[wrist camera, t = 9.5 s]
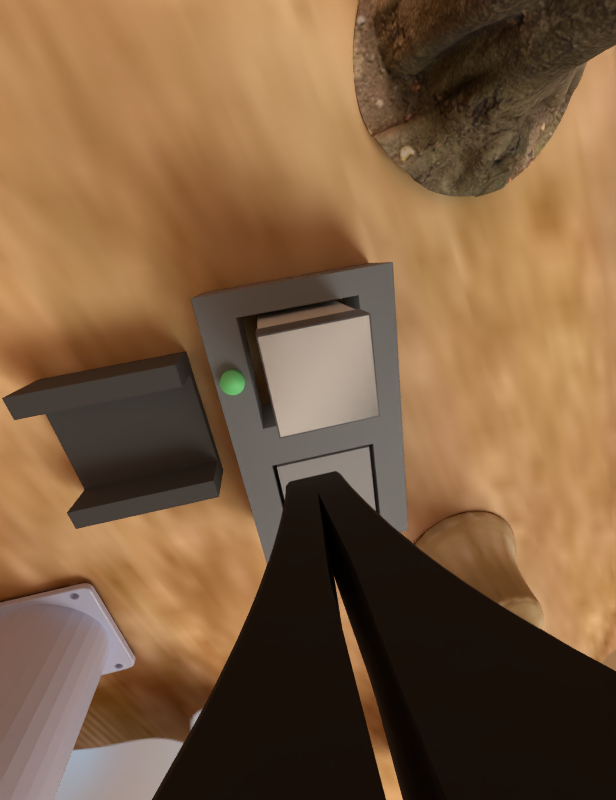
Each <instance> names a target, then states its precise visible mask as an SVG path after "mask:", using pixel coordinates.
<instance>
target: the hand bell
mask: <svg viewBox="0 0 616 800" xmlns="http://www.w3.org/2000/svg"><path fill="white" fill-rule="evenodd" d="M415 545H416V546H417V547H418V548H419V549H421V550H422V551H423V552H424V553H426V554H427V555H428V556H430V557H431V558H432V559H434V560H435V561H436V562H438V563H439V564H440V565H442V566H443V567H444V568H446V569H447V570H449V571H450V572H452V573H453V574H454V575H456V576H457V577H459V578H460V579H462V580H463V581H464V582H466V583H467V584H469V585H470V586H472V587H473V588H475V589H476V590H478V591H479V592H481V593H483V594H484V595H486V596H487V597H489V598H490V599H492V600H493V601H495V602H496V603H498V604H499V605H501V606H503V607H504V608H506V609H508V610H509V611H511V612H513V613H514V614H516V615H518V616H519V617H521V618H523V619H525V620H526V621H528V622H530V623H531V624H533V625H535V626H536V627H538V628H540V629H541V627H542V625H543V622H544V612H543V609H542V606H541V605H540V603H539V602H538V600H537V599H536V597H535V596H534V594H533V593H532V592H531V590H530V589H529V587H528V585H527V584H526V582H525V581H524V579H523V577H522V575H521V573H520V571H519V569H518V567H517V564H516V561H515V556H516V540H515V536H514V533H513V531H512V529H511V527H510V525H509V524H508V523H507V522H506V521H505V520H503V519H502V518H501V517H499V516H497V515H494V514H492V513H487V512H483V511H475V512H465V513H461V514H457V515H454V516H451V517H449V518H446V519H444V520H442V521H441V522H438V523H437V524H436V525H434V526H433V527H431V528H430V529H429V530H428V531H427V532H425V533H424V534H423V535H422V537H421V538H420V539H419V540H418V541H417V543H416V544H415Z"/></svg>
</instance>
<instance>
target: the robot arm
mask: <svg viewBox="0 0 616 800" xmlns="http://www.w3.org/2000/svg"><path fill="white" fill-rule="evenodd" d="M334 577H335V579H334ZM335 580H336V583H337V586H338V589H339V592H340V595H341V597H342V600H343V603H344V606H345V609H346V612H347V615H348V618H349V620H350V623H351V626H352V629H353V632H354V635H355V638H356V640H357V643H358V646H359V649H360V652H361V655H362V658H363V661H364V663H365V666H366V669H367V672H368V675H369V678H370V681H371V685H372V688H373V691H374V694H375V697H376V701H377V705H378V708H379V712H380V716H381V719H382V723H383V727H384V731H385V734H386V738H387V742H388V745H389V749H390V753H391V756H392V760H393V764H394V768H395V771H396V775H397V779H398V783H399V786H400V790H401V794H402V798H403V800H616V671H614V670H613V669H611V668H609V667H607V666H605V665H603V664H601V663H600V662H598V661H596V660H594V659H592V658H590V657H588V656H587V655H585V654H583V653H581V652H579V651H577V650H576V649H574V648H572V647H570V646H569V645H567V644H565V643H564V642H562V641H560V640H558V639H557V638H555V637H553V636H552V635H550V634H548V633H547V632H545V631H543V630H541V629H540V628H538V627H536V626H535V625H533V624H531V623H530V622H528V621H526V620H525V619H523V618H521V617H519V616H518V615H516V614H514V613H513V612H511V611H509V610H508V609H506V608H504V607H503V606H501V605H499V604H498V603H496V602H495V601H493V600H492V599H490V598H489V597H487V596H486V595H484V594H483V593H481V592H479V591H478V590H476V589H475V588H473V587H472V586H470V585H469V584H467V583H466V582H464V581H463V580H462V579H460V578H459V577H457V576H456V575H454V574H453V573H452V572H450V571H449V570H447V569H446V568H444V567H443V566H442V565H440V564H439V563H438V562H436V561H435V560H434V559H432V558H431V557H430V556H428V555H427V554H426V553H424V552H423V551H422V550H421V549H419V548H418V547H417V546H416V545H414V544H413V543H412V542H411V541H409V540H408V539H407V538H406V537H405V536H403V535H402V534H401V533H400V532H399V531H397V530H396V529H395V528H394V527H393V526H392V525H390V524H389V523H388V522H387V521H386V520H385V519H384V518H383V517H382V516H381V515H380V514H378V513H377V512H376V511H375V510H374V509H373V508H372V507H371V506H370V505H369V504H368V503H367V502H366V501H365V500H364V499H363V498H362V497H361V496H360V495H359V494H358V493H357V492H356V491H355V490H354V489H353V488H352V487H351V486H350V484H349V483H348V482H347V481H346V480H345V479H344V477H343V476H342V475H341V474H340V473H339V472H337V471H333V472H329V473H324V474H320V475H316V476H311V477H307V478H303V479H298V480H294V481H290V482H289V483H288V484H287V485H286V493H285V501H284V506H283V511H282V516H281V520H280V524H279V528H278V531H277V535H276V539H275V542H274V546H273V549H272V552H271V555H270V558H269V561H268V564H267V567H266V570H265V572H264V575H263V578H262V581H261V584H260V587H259V589H258V592H257V594H256V597H255V599H254V602H253V604H252V607H251V609H250V612H249V614H248V616H247V619H246V621H245V623H244V625H243V628H242V630H241V632H240V634H239V637H238V639H237V641H236V643H235V645H234V647H233V649H232V651H231V654H230V656H229V658H228V660H227V662H226V664H225V666H224V668H223V670H222V672H221V674H220V676H219V678H218V680H217V682H216V684H215V686H214V688H213V690H212V692H211V694H210V696H209V698H208V700H207V702H206V704H205V706H204V708H203V709H202V711H201V713H200V715H199V717H198V719H197V721H196V722H195V724H194V726H193V728H192V729H191V731H190V733H189V735H188V737H187V738H186V740H185V742H184V744H183V745H182V747H181V749H180V751H179V753H178V755H177V756H176V758H175V760H174V761H173V763H172V765H171V767H170V768H169V770H168V772H167V774H166V776H165V777H164V779H163V781H162V783H161V785H160V786H159V788H158V790H157V792H156V793H155V795H154V797H153V799H152V800H386V798H385V794H384V790H383V787H382V783H381V779H380V775H379V771H378V767H377V763H376V759H375V755H374V752H373V748H372V744H371V740H370V736H369V732H368V728H367V724H366V720H365V716H364V712H363V709H362V705H361V701H360V697H359V693H358V689H357V685H356V681H355V677H354V673H353V669H352V665H351V661H350V657H349V654H348V650H347V646H346V642H345V638H344V634H343V630H342V624H341V618H340V611H339V605H338V598H337V592H336V586H335ZM134 662H135V656H134V654H133V653H132V651H131V649H130V647H129V646H128V644H127V642H126V641H125V639H124V637H123V636H122V634H121V632H120V631H119V629H118V627H117V626H116V624H115V622H114V620H113V619H112V617H111V615H110V614H109V612H108V610H107V609H106V607H105V605H104V604H103V602H102V600H101V599H100V597H99V595H98V593H97V592H96V590H95V588H94V587H93V586H92V585H91V584H89V583H82V584H78V585H73V586H69V587H65V588H61V589H56V590H52V591H48V592H44V593H39V594H35V595H31V596H26V597H22V598H18V599H14V600H9V601H5V602H1V603H0V800H54V797H55V795H56V792H57V790H58V787H59V784H60V782H61V779H62V777H63V774H64V771H65V769H66V766H67V763H68V761H69V758H70V756H71V753H72V750H73V748H74V745H75V743H76V740H77V737H78V735H79V732H80V729H81V727H82V724H83V722H84V719H85V716H86V714H87V711H88V708H89V706H90V703H91V701H92V698H93V695H94V693H95V690H96V688H97V685H98V682H99V680H100V677H101V675H104V674H108V673H112V672H116V671H120V670H123V669H127V668H130V667H132V666H133V665H134Z"/></svg>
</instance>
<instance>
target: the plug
mask: <svg viewBox="0 0 616 800" xmlns="http://www.w3.org/2000/svg"><path fill="white" fill-rule="evenodd" d="M256 340H257V344H258V349H259V353H260V357H261V361H262V366H263V370H264V374H265V378H266V383H267V387H268V391H269V396H270V400H271V404H272V408H273V413H274V417H275V421H276V425H277V430H278V434H279V438H280V439H281V438H285V437H290V436H294V435H299V434H303V433H308V432H312V431H317V430H321V429H326V428H330V427H335V426H339V425H344V424H348V423H353V422H357V421H362V420H366V419H371V418H375V417H380V410H379V399H378V389H377V378H376V368H375V357H374V346H373V336H372V325H371V315H370V313H369V312H366V311H364V310H361V309H353V308H351V307H349V306H346V305H344V304H342V303H339V302H337V301H334V300H330V301H324V302H319V303H314V304H308V305H303V306H298V307H292V308H287V309H281V310H276V311H271V312H265V313H260V314H257V329H256Z"/></svg>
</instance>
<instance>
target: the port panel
mask: <svg viewBox="0 0 616 800" xmlns="http://www.w3.org/2000/svg"><path fill="white" fill-rule="evenodd" d="M341 298H342V300H343V304H344V305H346V306H349V307H351V308H353V309H361V310H364V311H366V312H369V313H370V315H371V325H372V336H373V346H374V357H375V368H376V378H377V389H378V399H379V410H380V417H375V418H371V419H366V420H362V421H357V422H353V423H348V424H344V425H339V426H335V427H330V428H326V429H321V430H317V431H312V432H308V433H303V434H299V435H294V436H290V437H285V438H281V439H280V438H279V434H278V430H277V425H276V421H275V417H274V413H273V408H272V404H271V402H269V403H264V404H262V401H261V397H260V393H259V389H258V385H257V380H256V376H255V372H254V368H253V363H252V359H251V355H250V351H249V346H248V342H247V338H246V334H245V329H244V325H243V321H242V317H244V316H249V315H255V314H260V313H265V312H271V311H276V310H281V309H287V308H292V307H298V306H303V305H308V304H314V303H319V302H324V301H330V300H335V299H341ZM191 302H192V306H193V309H194V313H195V316H196V320H197V323H198V327H199V330H200V334H201V337H202V341H203V344H204V347H205V351H206V354H207V358H208V361H209V365H210V368H211V372H212V375H213V379H214V382H215V385H216V389H217V392H218V396H219V399H220V403H221V406H222V410H223V413H224V417H225V420H226V424H227V427H228V430H229V434H230V437H231V441H232V444H233V448H234V451H235V455H236V458H237V462H238V465H239V468H240V472H241V475H242V479H243V482H244V486H245V489H246V493H247V496H248V500H249V503H250V506H251V510H252V513H253V517H254V520H255V524H256V527H257V531H258V534H259V538H260V541H261V545H262V548H263V551H264V555H265V558H266V562H267V564H268V561H269V558H270V555H271V552H272V549H273V546H274V542H275V539H276V535H277V531H278V528H279V524H280V520H281V516H282V511H283V506H284V501H285V493H286V485H287V484H288V483H289V482H290V481H294V480H298V479H303V478H307V477H311V476H316V475H320V474H324V473H329V472H333V471H337V472H339V473H340V474H341V475H342V476H343V477H344V479H345V480H346V481H347V482H348V483H349V484H350V486H351V487H352V488H353V489H354V490H355V491H356V492H357V493H358V494H359V495H360V496H361V497H362V498H363V499H364V500H365V501H366V502H367V503H368V504H369V505H370V506H371V507H372V508H373V509H374V510H375V511H376V512H377V513H378V514H380V515H381V516H382V517H383V518H384V519H385V520H386V521H387V522H388V523H389V524H390V525H392V526H393V527H394V528H395V529H396V530H397V531H399V532H402V531H406V530H408V517H407V500H406V483H405V465H404V448H403V431H402V413H401V396H400V378H399V361H398V344H397V326H396V309H395V292H394V274H393V262H387V263H368V264H362V265H356V266H351V267H345V268H340V269H334V270H329V271H323V272H317V273H312V274H306V275H301V276H295V277H290V278H284V279H278V280H273V281H267V282H262V283H256V284H251V285H245V286H239V287H234V288H228V289H223V290H217V291H212V292H206V293H202V294H200V295H197V296H195V297H193V298H191Z"/></svg>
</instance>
